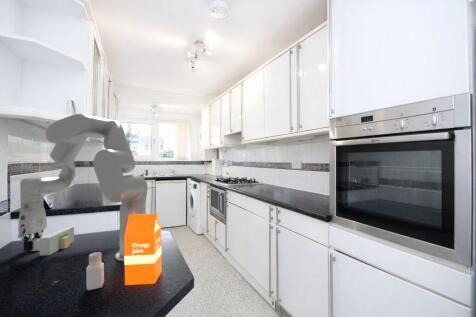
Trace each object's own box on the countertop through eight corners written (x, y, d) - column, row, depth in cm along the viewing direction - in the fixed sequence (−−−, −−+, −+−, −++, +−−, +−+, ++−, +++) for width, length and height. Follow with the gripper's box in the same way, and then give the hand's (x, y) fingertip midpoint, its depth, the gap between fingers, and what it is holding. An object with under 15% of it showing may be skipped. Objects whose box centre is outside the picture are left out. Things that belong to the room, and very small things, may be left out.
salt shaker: (86, 291, 65) (85, 257, 65) (88, 284, 68) (88, 252, 69) (102, 288, 66) (102, 255, 67) (104, 281, 70) (103, 250, 70)
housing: (74, 241, 109) (73, 226, 109) (50, 254, 93) (50, 237, 93) (65, 242, 108) (64, 227, 109) (39, 255, 93) (39, 238, 93)
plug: (70, 245, 103) (70, 235, 103) (64, 248, 99) (64, 238, 99) (36, 247, 102) (36, 237, 102) (29, 251, 98) (29, 240, 98)
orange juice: (134, 272, 75) (133, 212, 76) (162, 271, 76) (160, 211, 76) (124, 285, 68) (123, 217, 68) (154, 283, 68) (153, 216, 69)
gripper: (25, 209, 92) (26, 255, 92) (54, 202, 109) (55, 241, 108) (5, 210, 91) (5, 256, 91) (37, 203, 108) (38, 242, 108)
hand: (32, 247), depth 100 cm, fingers closed on plug, 4 cm apart
